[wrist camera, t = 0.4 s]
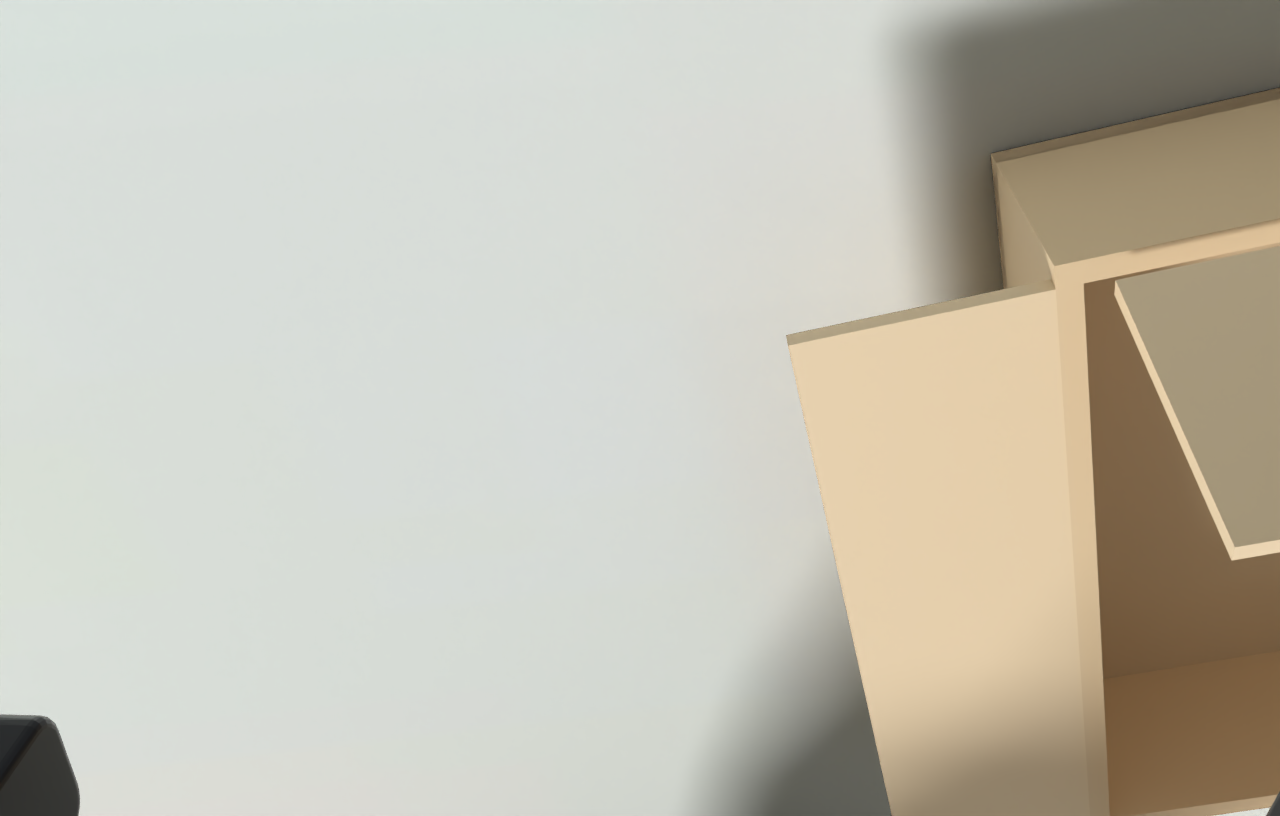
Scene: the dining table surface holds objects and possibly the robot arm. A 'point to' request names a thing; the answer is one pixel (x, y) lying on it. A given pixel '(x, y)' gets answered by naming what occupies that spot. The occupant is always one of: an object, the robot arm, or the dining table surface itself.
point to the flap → (1219, 382)
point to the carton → (1055, 501)
